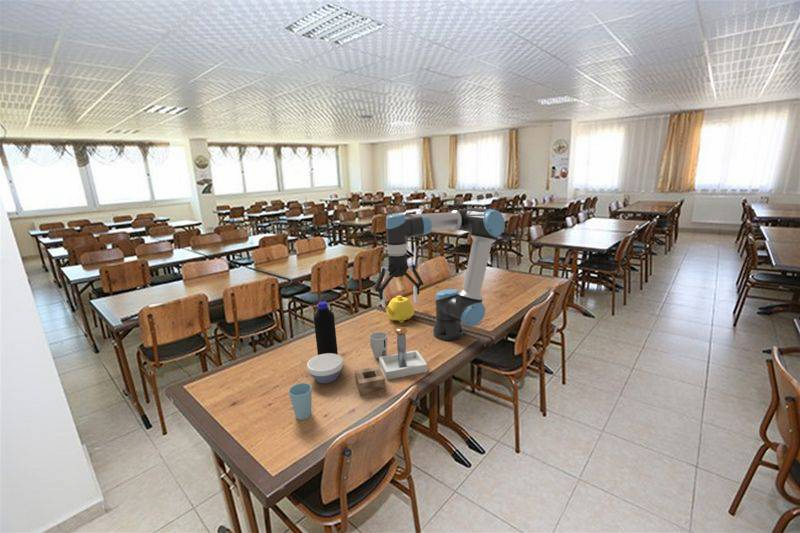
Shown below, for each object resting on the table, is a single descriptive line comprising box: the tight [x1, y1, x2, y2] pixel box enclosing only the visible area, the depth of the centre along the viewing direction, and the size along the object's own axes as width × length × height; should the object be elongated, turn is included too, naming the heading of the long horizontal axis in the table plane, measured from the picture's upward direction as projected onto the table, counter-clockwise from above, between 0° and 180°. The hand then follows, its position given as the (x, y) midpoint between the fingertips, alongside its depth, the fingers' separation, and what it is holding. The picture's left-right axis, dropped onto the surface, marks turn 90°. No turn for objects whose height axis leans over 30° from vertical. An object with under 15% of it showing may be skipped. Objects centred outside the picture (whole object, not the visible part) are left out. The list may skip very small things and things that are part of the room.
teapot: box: [384, 295, 415, 324], centre depth 209 cm, size 20×16×14 cm
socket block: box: [354, 365, 386, 396], centre depth 147 cm, size 10×10×5 cm
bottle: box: [313, 300, 339, 355], centre depth 165 cm, size 9×9×28 cm
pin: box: [394, 326, 408, 368], centre depth 157 cm, size 5×5×17 cm
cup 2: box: [368, 331, 388, 359], centre depth 170 cm, size 8×8×10 cm
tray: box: [378, 349, 428, 380], centre depth 159 cm, size 18×14×3 cm
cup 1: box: [288, 382, 312, 421], centre depth 130 cm, size 8×8×10 cm
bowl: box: [306, 353, 344, 384], centre depth 154 cm, size 14×14×8 cm
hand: (399, 304), depth 153 cm, fingers open, 13 cm apart
